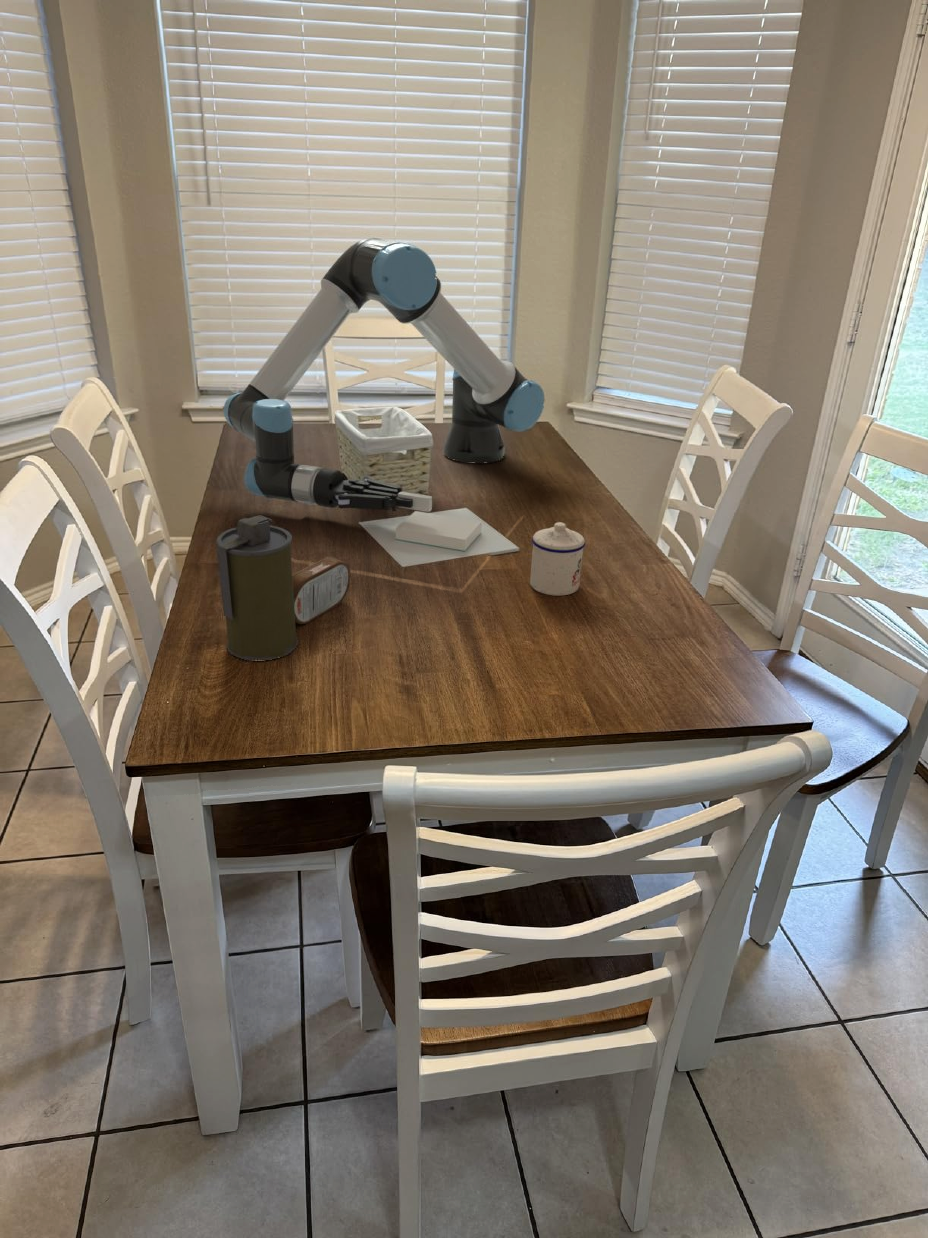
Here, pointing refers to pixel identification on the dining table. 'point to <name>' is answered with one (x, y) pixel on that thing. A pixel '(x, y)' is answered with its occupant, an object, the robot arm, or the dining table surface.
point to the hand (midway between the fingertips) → (430, 504)
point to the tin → (319, 588)
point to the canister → (257, 589)
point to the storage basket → (385, 448)
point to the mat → (424, 554)
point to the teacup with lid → (556, 560)
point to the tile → (439, 531)
